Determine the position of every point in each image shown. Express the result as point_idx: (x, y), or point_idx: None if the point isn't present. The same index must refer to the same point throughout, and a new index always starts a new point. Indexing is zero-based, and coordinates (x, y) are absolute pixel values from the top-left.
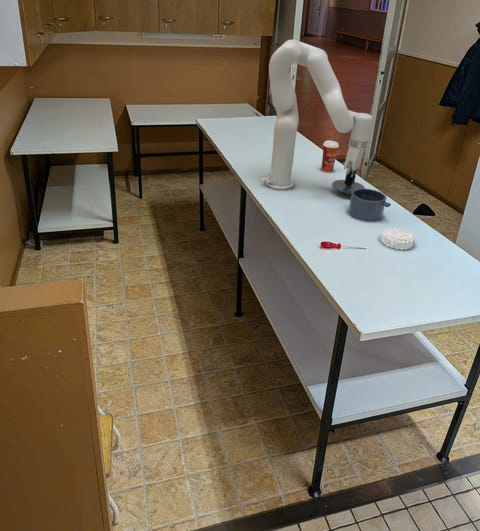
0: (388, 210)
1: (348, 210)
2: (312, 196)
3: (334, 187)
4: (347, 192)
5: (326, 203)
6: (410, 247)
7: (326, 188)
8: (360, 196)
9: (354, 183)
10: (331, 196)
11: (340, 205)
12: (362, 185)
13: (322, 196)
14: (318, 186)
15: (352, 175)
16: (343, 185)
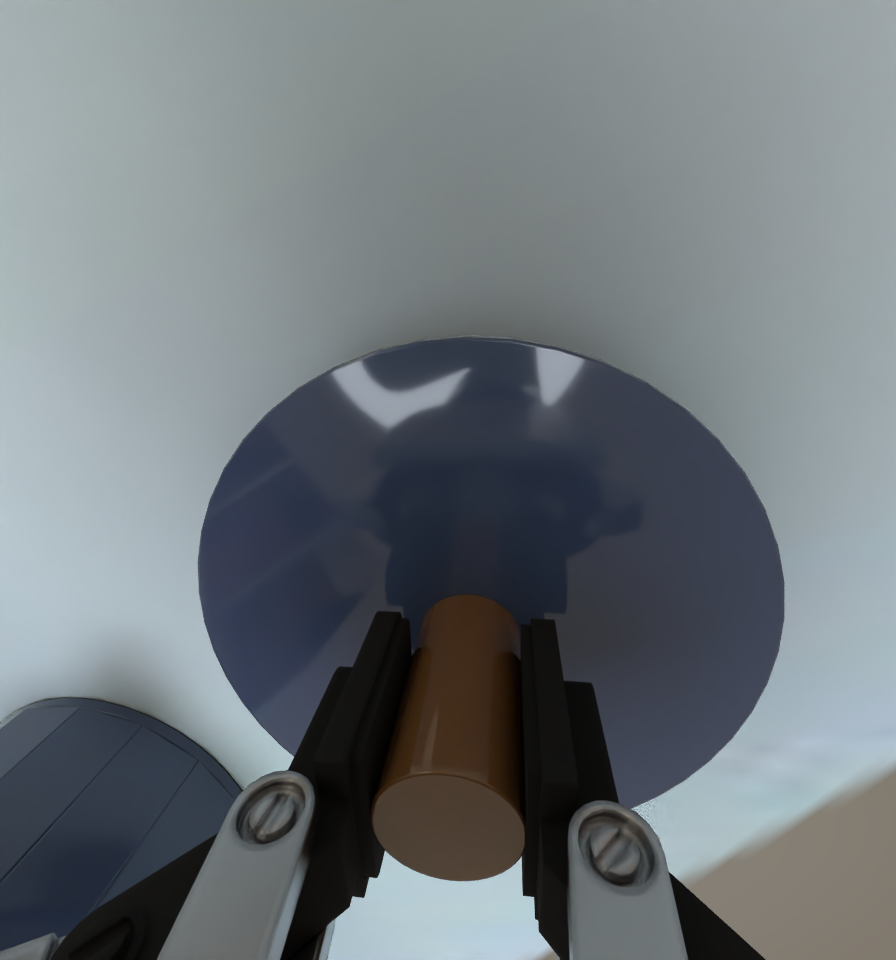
0: (348, 936)
1: (20, 711)
2: (9, 206)
3: (225, 468)
4: (232, 674)
5: (3, 465)
6: None
7: (456, 236)
8: (78, 890)
9: (669, 681)
10: (228, 434)
11: (94, 604)
12: (663, 786)
13: (129, 332)
14: (447, 53)
15: (316, 941)
16: (426, 565)
